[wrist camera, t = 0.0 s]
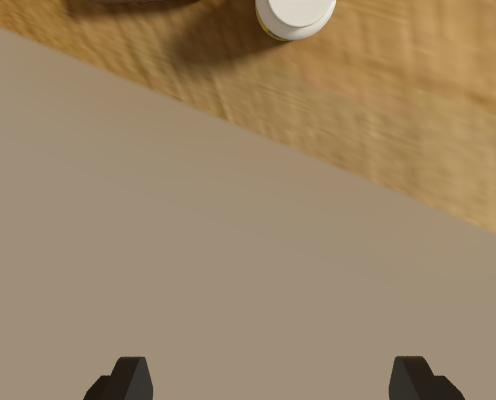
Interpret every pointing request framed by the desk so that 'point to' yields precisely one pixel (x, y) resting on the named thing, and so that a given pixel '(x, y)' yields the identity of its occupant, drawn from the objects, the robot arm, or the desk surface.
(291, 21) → the pill bottle
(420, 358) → the robot arm
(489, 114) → the desk surface
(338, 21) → the desk surface
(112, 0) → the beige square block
